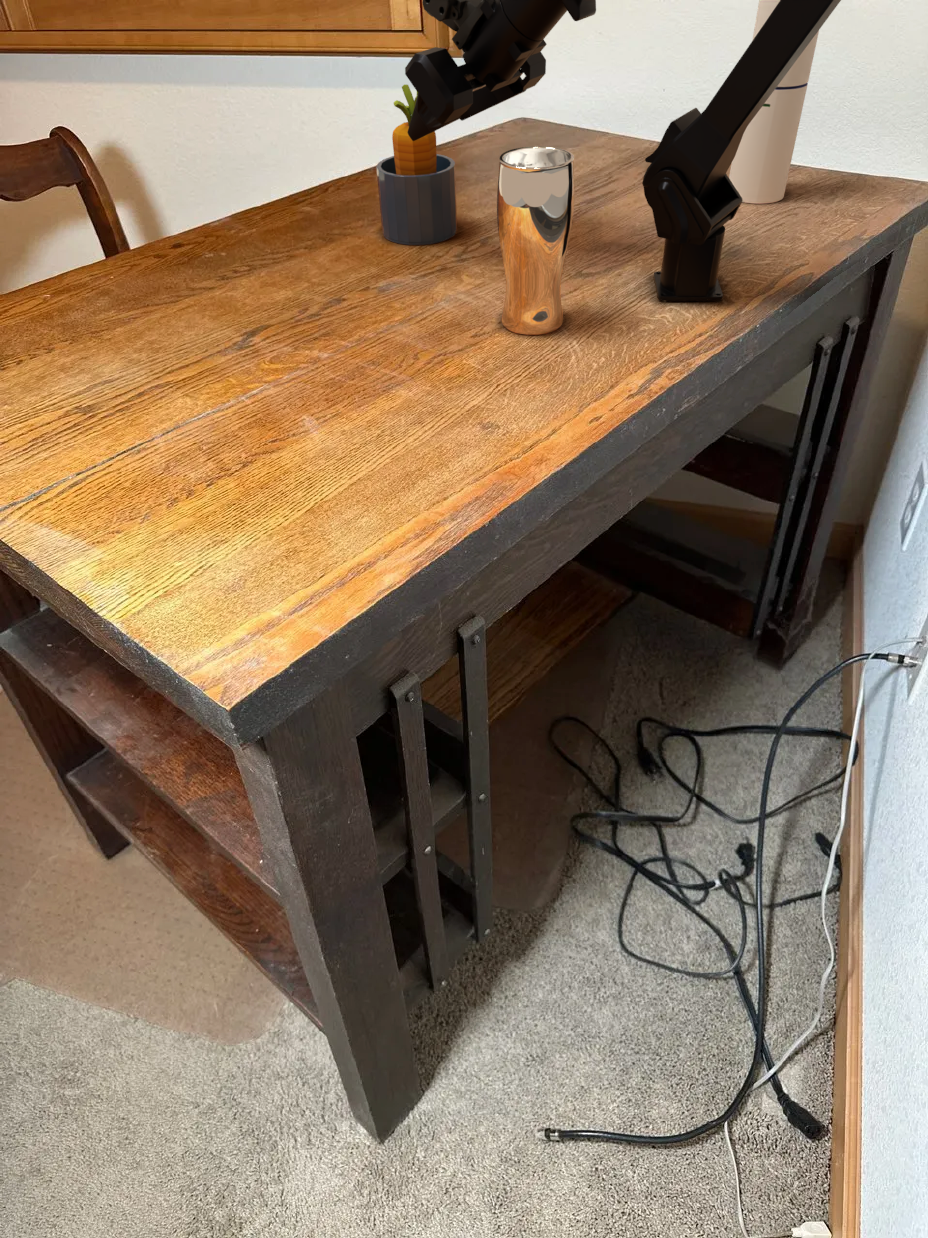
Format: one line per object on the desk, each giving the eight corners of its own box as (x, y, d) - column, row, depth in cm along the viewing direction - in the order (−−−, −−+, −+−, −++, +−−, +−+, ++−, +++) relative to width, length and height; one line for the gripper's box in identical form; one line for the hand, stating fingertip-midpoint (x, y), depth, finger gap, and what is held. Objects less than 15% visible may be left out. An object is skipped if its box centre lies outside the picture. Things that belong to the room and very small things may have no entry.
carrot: (439, 235, 103) (432, 91, 93) (397, 236, 103) (386, 92, 93) (440, 220, 107) (434, 80, 97) (400, 221, 107) (390, 81, 97)
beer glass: (567, 307, 88) (576, 144, 78) (567, 338, 83) (576, 168, 73) (499, 306, 89) (499, 145, 79) (494, 336, 84) (494, 168, 74)
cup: (453, 245, 102) (451, 176, 97) (377, 245, 102) (371, 176, 97) (459, 218, 108) (457, 152, 103) (388, 218, 109) (382, 152, 104)
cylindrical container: (785, 204, 109) (839, -46, 92) (726, 202, 110) (769, -46, 93) (782, 186, 114) (832, -55, 97) (726, 184, 115) (766, -54, 98)
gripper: (524, -74, 88) (440, 44, 100) (415, -52, 77) (335, 78, 89) (588, 26, 90) (497, 130, 102) (490, 61, 79) (401, 173, 91)
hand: (435, 126), depth 96 cm, fingers open, 9 cm apart
